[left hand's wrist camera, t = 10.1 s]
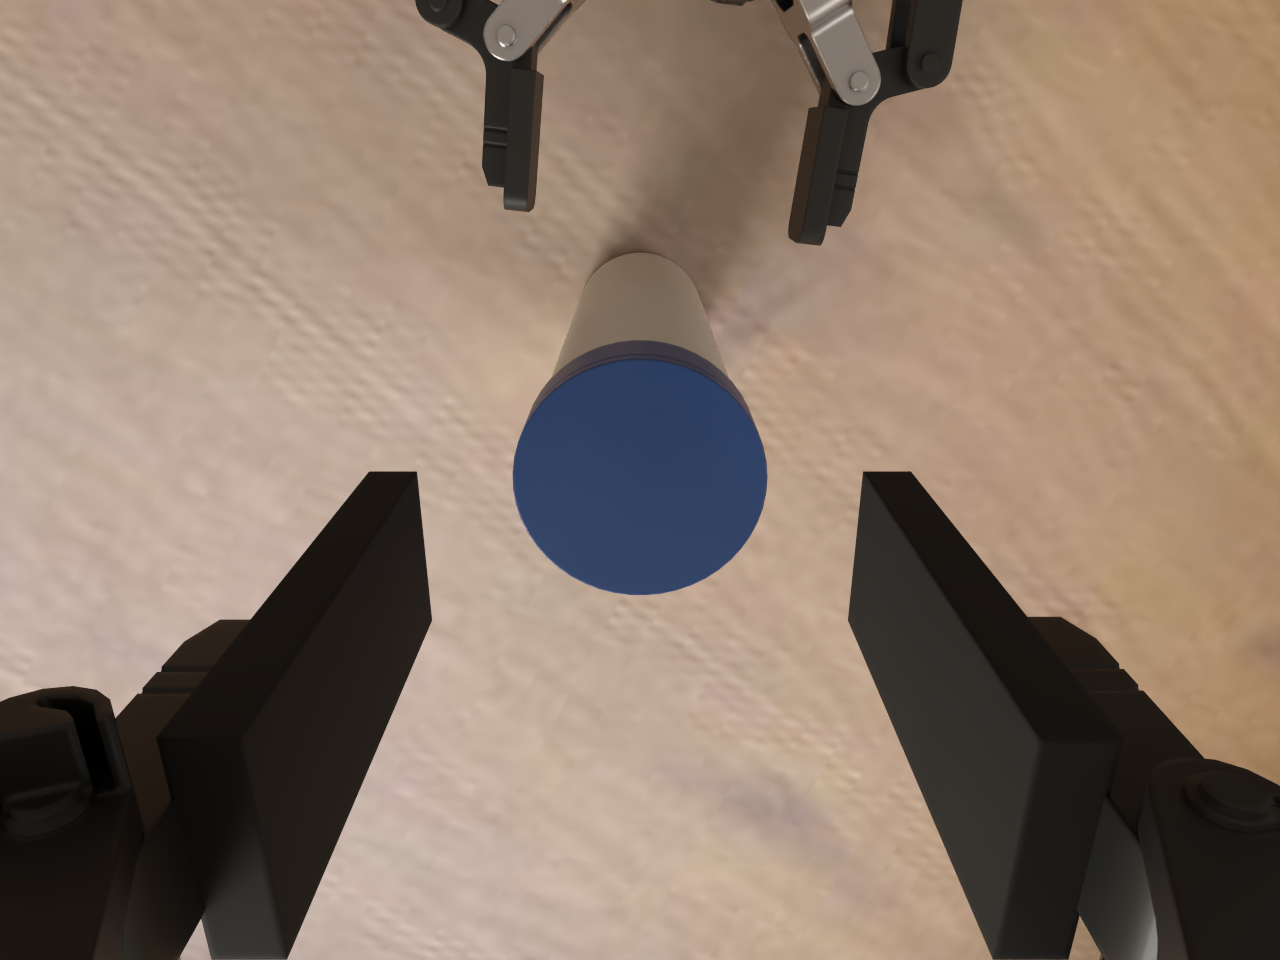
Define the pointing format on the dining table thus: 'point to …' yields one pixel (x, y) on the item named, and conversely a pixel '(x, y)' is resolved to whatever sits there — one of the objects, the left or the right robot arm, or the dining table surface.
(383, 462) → the dining table surface
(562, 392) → the lid
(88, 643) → the dining table surface
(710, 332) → the jar
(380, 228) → the dining table surface
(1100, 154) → the dining table surface
